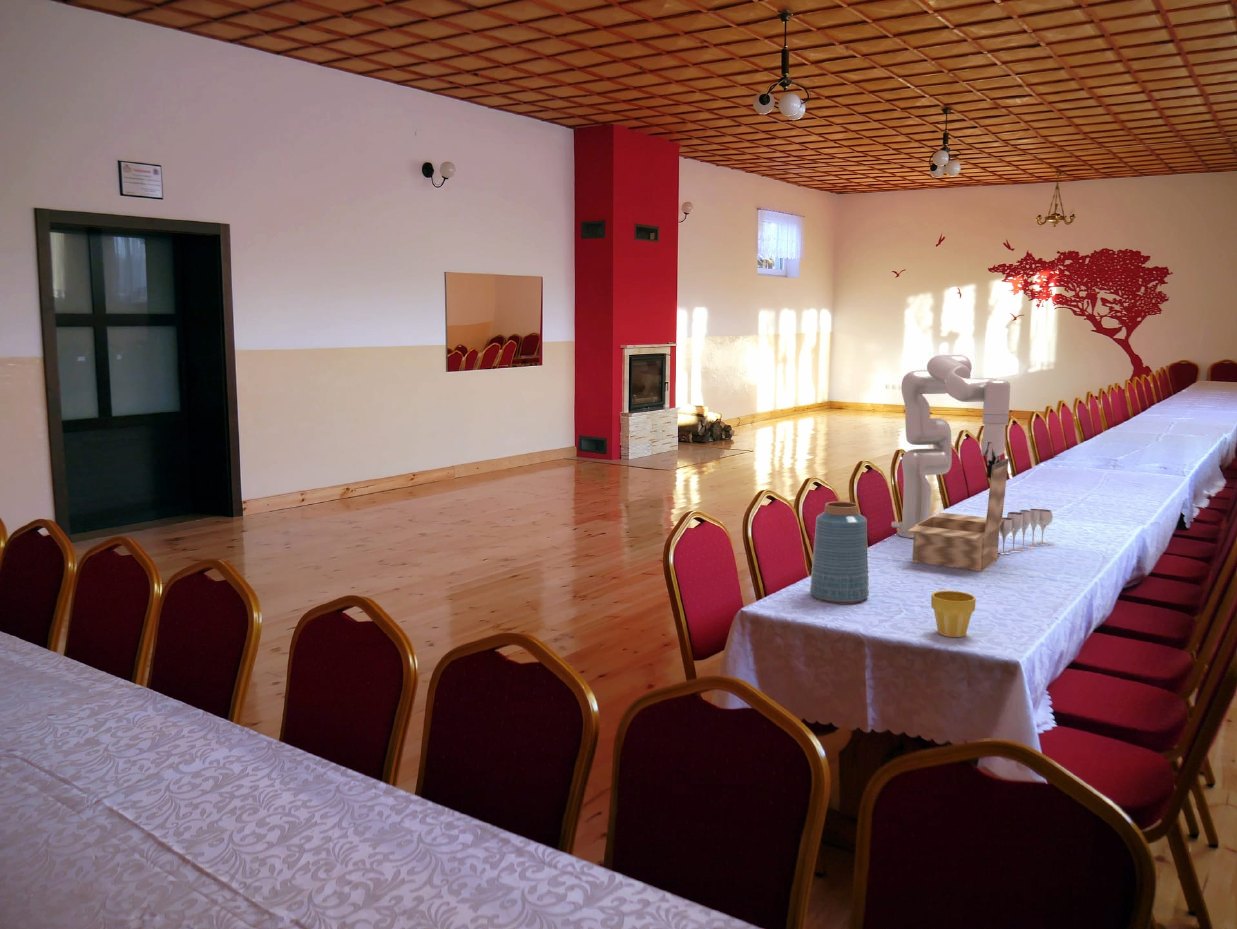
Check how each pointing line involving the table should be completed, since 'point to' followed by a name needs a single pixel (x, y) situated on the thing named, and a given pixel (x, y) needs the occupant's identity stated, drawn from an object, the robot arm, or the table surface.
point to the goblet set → (1024, 524)
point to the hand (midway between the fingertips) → (992, 477)
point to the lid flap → (996, 495)
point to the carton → (955, 542)
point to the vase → (840, 555)
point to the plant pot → (952, 612)
